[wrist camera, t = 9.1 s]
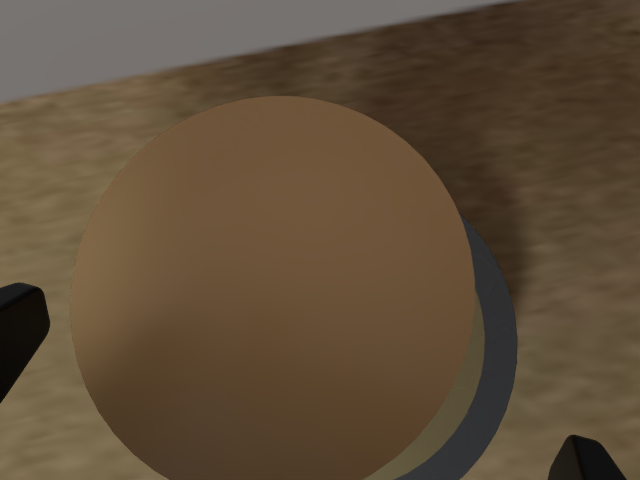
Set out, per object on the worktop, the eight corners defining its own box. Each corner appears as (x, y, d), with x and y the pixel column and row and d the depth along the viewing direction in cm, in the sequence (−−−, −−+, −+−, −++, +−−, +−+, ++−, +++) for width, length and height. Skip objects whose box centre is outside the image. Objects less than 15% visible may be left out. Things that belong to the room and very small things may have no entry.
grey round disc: (479, 533, 18) (501, 569, 15) (164, 467, 19) (121, 485, 16) (510, 214, 20) (534, 184, 17) (227, 178, 22) (200, 144, 19)
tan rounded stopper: (469, 412, 16) (613, 478, 6) (256, 471, 16) (63, 626, 6) (402, 208, 17) (429, 0, 8) (210, 265, 17) (1, 133, 8)
